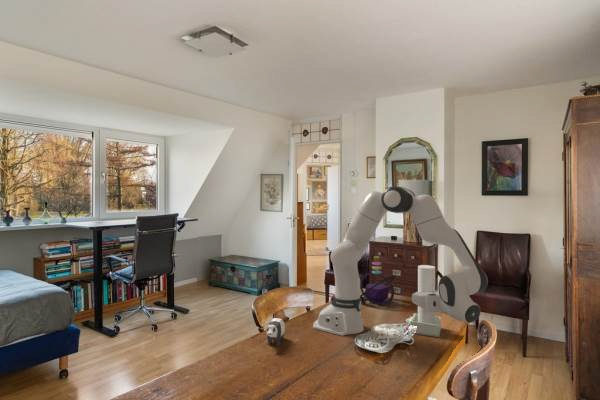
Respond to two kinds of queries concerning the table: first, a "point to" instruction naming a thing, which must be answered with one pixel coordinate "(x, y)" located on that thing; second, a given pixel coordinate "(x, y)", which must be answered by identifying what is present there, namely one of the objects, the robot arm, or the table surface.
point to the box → (427, 326)
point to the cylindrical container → (426, 285)
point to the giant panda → (275, 331)
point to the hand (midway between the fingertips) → (425, 292)
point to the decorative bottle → (377, 286)
